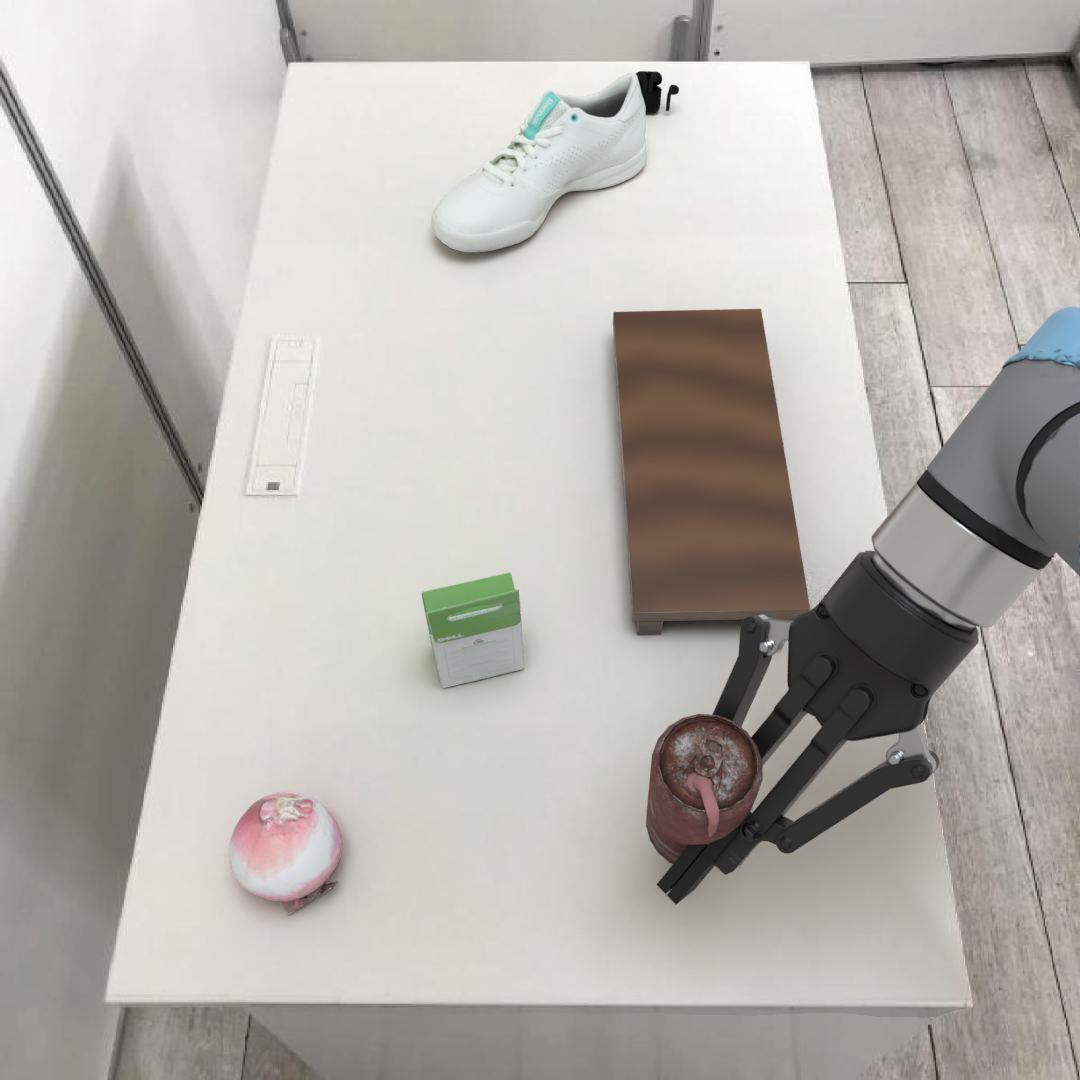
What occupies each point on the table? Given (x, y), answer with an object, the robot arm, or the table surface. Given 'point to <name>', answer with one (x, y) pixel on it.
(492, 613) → the ink box
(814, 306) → the table surface
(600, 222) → the table surface
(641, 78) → the wireless earbuds
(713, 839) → the can
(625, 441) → the shelf
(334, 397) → the table surface
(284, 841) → the onion
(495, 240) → the running shoe
